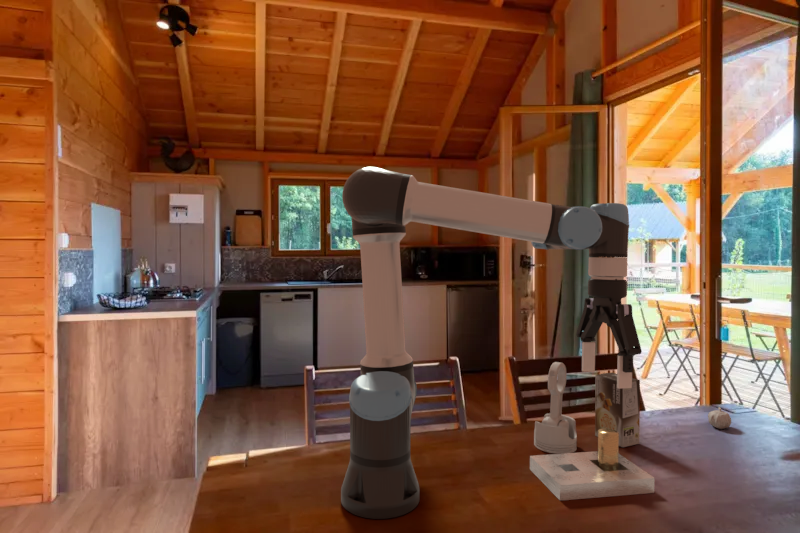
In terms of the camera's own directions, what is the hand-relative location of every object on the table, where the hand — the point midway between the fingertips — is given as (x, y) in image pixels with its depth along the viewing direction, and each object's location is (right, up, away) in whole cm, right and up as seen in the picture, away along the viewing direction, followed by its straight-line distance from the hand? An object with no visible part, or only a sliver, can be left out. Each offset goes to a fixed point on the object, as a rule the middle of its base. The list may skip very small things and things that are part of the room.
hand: (605, 379), depth 106 cm
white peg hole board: (-4, -21, -1) cm, 21 cm away
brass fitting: (+1, -21, 0) cm, 21 cm away
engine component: (-5, -21, +19) cm, 28 cm away
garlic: (+44, -20, +31) cm, 58 cm away
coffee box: (+12, -21, +22) cm, 33 cm away
